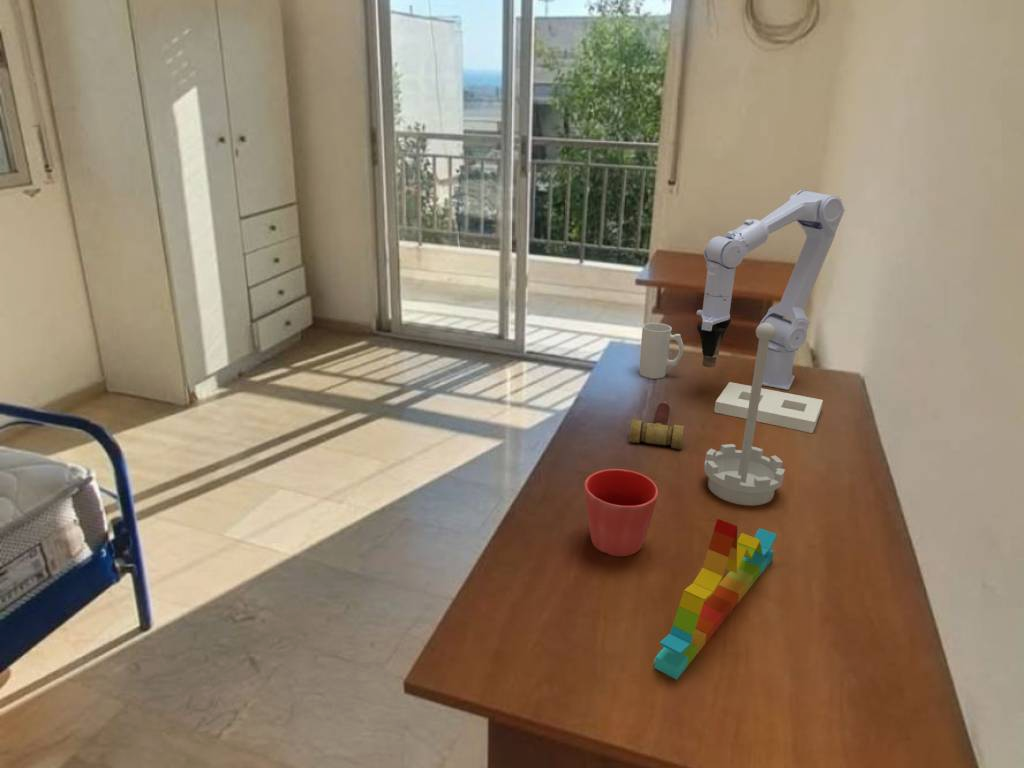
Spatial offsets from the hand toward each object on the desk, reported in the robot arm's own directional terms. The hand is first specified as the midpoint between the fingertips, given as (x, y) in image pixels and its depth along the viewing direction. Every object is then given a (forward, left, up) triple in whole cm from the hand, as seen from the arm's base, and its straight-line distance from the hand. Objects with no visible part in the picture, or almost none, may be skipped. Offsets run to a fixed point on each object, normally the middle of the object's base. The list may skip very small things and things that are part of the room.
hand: (710, 353), depth 161 cm
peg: (0, 0, -3) cm, 3 cm away
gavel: (+22, -4, -11) cm, 24 cm away
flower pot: (+65, +3, -10) cm, 66 cm away
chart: (+72, +20, -10) cm, 76 cm away
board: (+3, +14, -10) cm, 18 cm away
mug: (-6, -13, -10) cm, 17 cm away
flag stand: (+39, +16, -10) cm, 43 cm away
